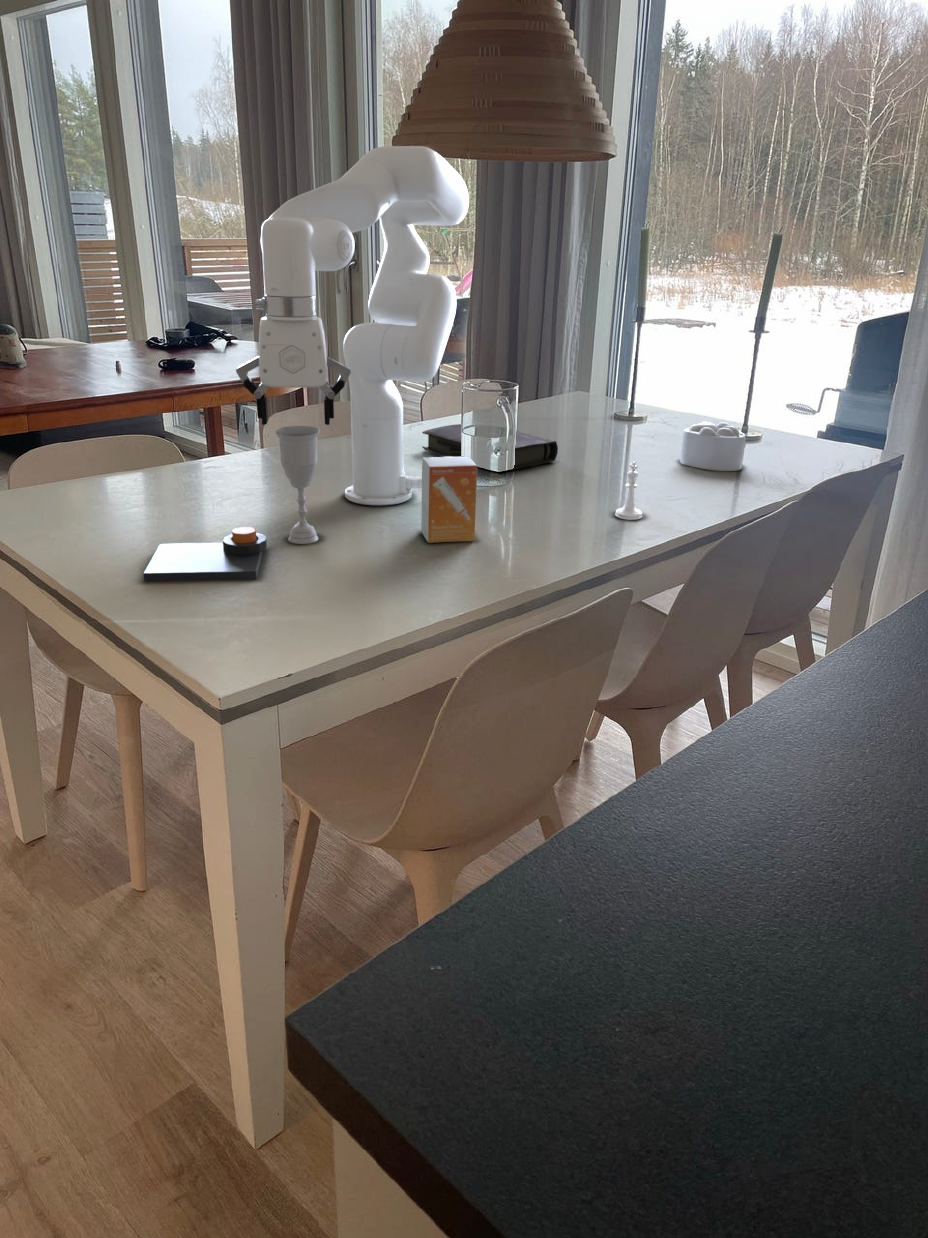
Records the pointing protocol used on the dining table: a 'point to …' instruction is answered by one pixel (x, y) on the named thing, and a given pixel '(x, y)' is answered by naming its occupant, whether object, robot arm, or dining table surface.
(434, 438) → the diary
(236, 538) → the power button
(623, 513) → the chess piece
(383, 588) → the dining table surface
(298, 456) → the chalice
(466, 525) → the small box
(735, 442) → the lumpy-topped squat cylinder
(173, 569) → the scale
